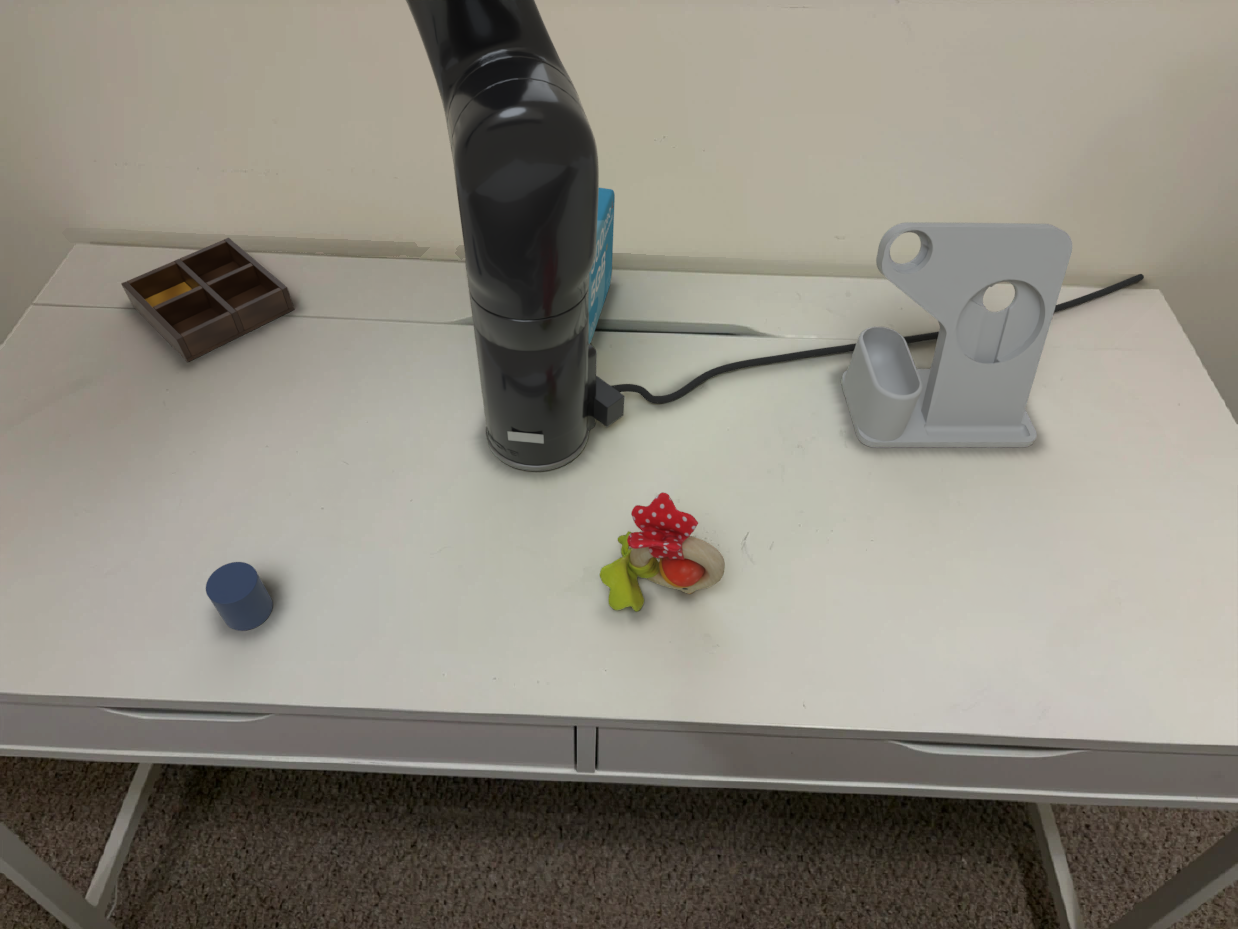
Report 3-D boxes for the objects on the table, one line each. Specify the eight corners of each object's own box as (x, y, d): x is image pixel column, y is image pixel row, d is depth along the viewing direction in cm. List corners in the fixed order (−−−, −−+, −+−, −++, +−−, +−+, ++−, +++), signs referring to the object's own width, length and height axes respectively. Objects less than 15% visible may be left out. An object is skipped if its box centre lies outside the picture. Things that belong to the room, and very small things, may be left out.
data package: (588, 352, 84) (589, 252, 74) (545, 345, 84) (541, 245, 75) (611, 280, 91) (615, 182, 82) (572, 274, 92) (571, 176, 83)
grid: (237, 259, 91) (228, 237, 89) (294, 309, 86) (287, 287, 84) (132, 305, 86) (120, 283, 83) (187, 362, 81) (176, 339, 78)
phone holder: (856, 447, 77) (916, 291, 63) (834, 372, 83) (884, 215, 69) (1038, 447, 77) (1136, 293, 64) (1002, 372, 84) (1084, 218, 70)
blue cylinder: (257, 581, 65) (241, 553, 62) (281, 610, 63) (266, 582, 60) (214, 609, 63) (196, 581, 60) (238, 639, 62) (221, 612, 59)
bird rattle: (686, 569, 70) (589, 535, 67) (759, 501, 62) (652, 460, 59) (683, 635, 66) (580, 602, 63) (761, 572, 58) (646, 531, 55)
